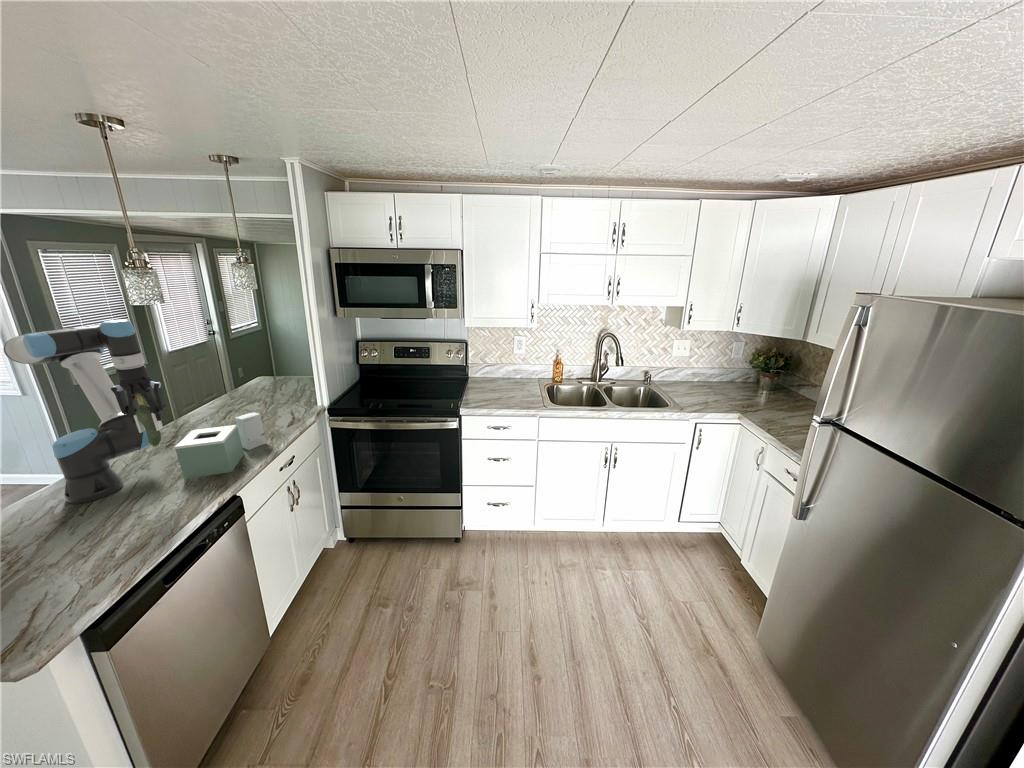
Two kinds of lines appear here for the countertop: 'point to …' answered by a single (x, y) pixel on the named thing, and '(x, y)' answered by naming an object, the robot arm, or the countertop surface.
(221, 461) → the box
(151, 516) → the countertop surface
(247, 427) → the skincare box
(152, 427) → the vegetable
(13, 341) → the robot arm
